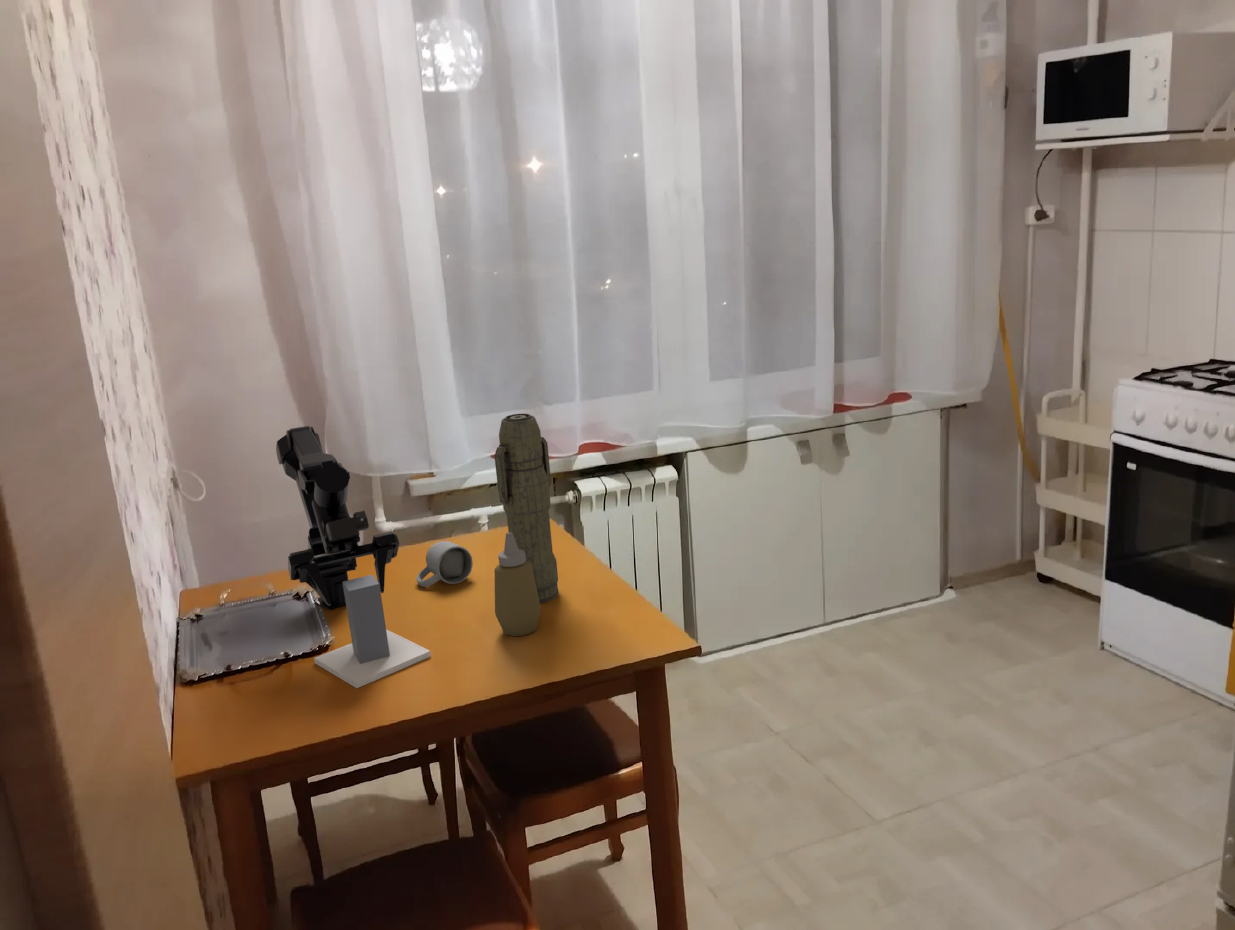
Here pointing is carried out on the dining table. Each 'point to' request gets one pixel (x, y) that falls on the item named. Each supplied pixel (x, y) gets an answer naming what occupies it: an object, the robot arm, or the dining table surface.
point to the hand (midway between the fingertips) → (356, 598)
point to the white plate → (358, 674)
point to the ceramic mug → (446, 564)
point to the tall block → (366, 618)
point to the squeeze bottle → (515, 591)
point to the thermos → (527, 496)
